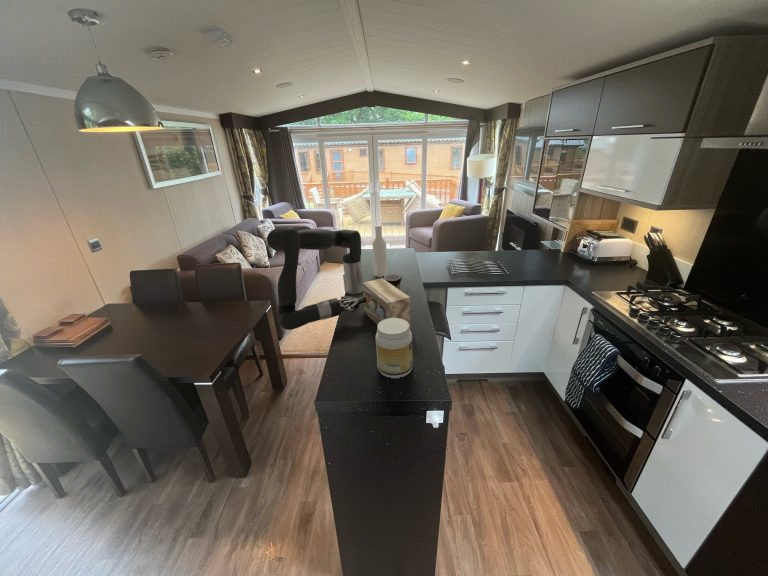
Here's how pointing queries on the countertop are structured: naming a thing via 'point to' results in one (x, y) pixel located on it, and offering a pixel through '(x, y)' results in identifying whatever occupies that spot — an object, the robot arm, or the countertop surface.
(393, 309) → the box
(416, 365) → the countertop surface
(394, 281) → the coffee mug
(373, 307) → the button sage
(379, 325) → the supplement tub
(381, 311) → the button slate
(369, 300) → the button terracotta
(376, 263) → the bottle
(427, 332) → the countertop surface
